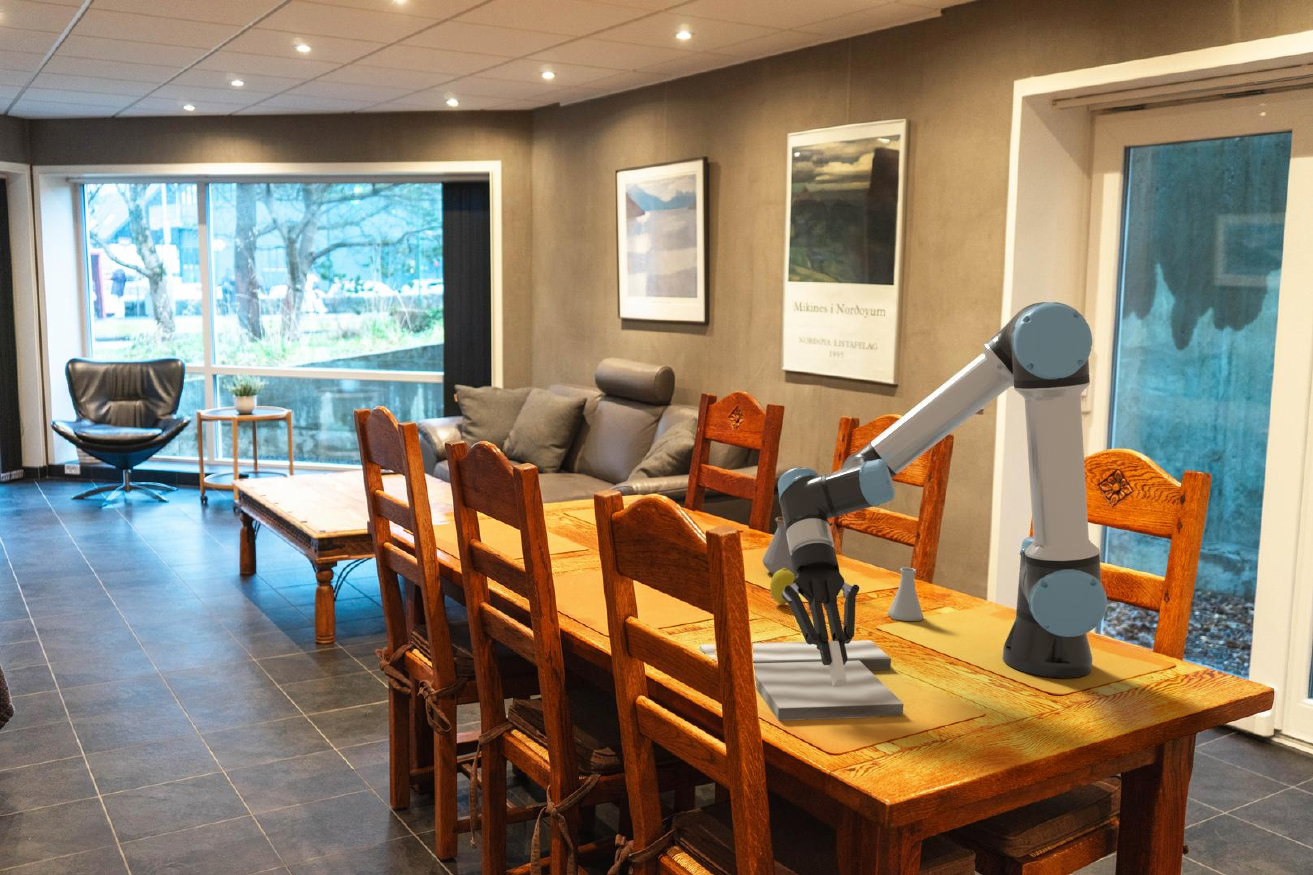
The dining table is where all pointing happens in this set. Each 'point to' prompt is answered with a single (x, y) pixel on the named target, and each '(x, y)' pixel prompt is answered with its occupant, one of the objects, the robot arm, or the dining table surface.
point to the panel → (823, 692)
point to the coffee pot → (779, 550)
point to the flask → (906, 599)
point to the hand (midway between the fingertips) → (839, 682)
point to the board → (812, 653)
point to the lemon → (781, 584)
